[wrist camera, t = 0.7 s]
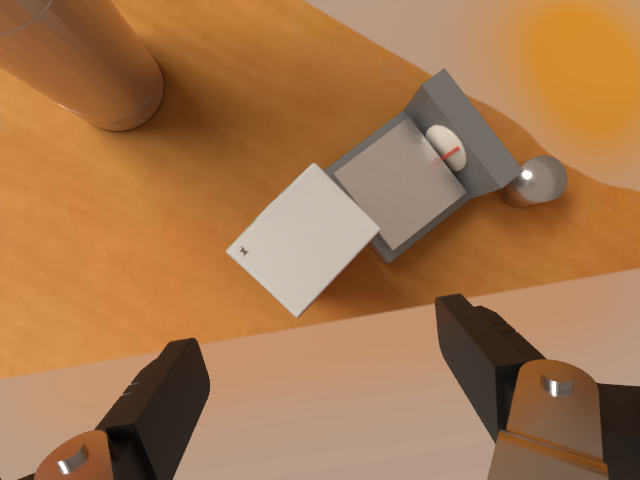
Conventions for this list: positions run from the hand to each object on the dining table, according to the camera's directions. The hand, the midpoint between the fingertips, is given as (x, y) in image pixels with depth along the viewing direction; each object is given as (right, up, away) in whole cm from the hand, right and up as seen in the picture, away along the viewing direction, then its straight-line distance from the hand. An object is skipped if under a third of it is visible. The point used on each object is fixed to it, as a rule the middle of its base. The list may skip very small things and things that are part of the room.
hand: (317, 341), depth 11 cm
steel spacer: (+21, +9, +24) cm, 33 cm away
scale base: (+8, +9, +23) cm, 27 cm away
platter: (+8, +9, +21) cm, 24 cm away
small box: (-2, +3, +23) cm, 23 cm away
